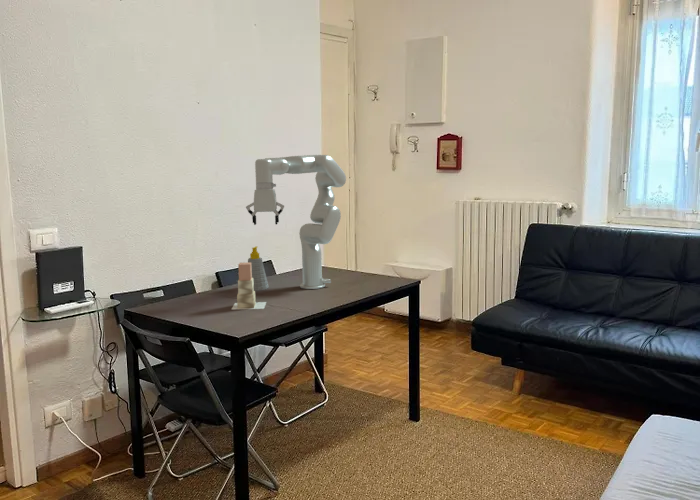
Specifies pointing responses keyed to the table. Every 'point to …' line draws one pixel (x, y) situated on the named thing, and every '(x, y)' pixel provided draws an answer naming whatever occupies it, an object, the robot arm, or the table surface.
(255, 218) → the robot arm
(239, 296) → the tower base
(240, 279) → the top block
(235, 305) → the mat
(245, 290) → the tower mid
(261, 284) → the soap bottle
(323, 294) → the table surface
